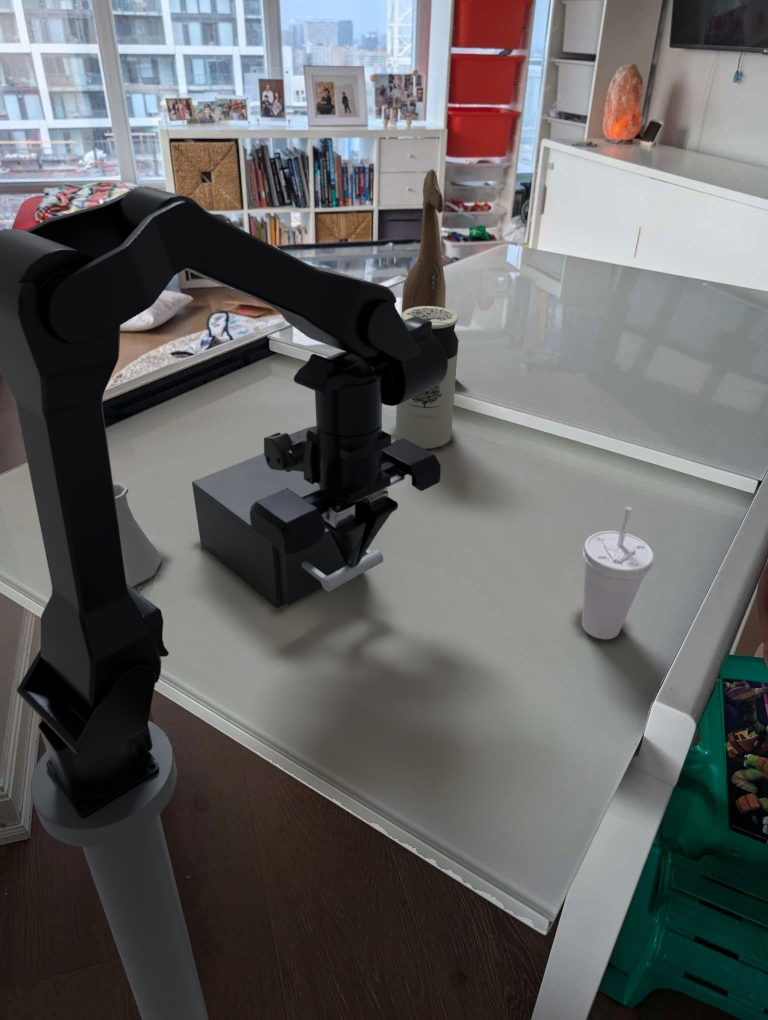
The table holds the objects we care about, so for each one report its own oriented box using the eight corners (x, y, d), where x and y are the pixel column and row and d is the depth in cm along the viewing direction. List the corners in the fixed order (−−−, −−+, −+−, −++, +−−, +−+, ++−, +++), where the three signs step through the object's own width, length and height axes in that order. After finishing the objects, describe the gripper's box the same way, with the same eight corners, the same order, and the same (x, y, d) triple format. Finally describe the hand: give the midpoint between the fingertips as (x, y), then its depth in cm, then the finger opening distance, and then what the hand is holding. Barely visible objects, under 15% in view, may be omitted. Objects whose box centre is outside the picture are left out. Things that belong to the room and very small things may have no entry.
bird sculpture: (404, 397, 120) (413, 180, 102) (375, 369, 129) (378, 165, 111) (466, 386, 124) (485, 175, 106) (433, 360, 133) (445, 161, 115)
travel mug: (405, 420, 113) (410, 302, 103) (457, 429, 111) (466, 309, 101) (388, 444, 107) (391, 320, 97) (442, 454, 105) (451, 329, 95)
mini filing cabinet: (361, 563, 84) (362, 498, 79) (276, 609, 78) (271, 541, 73) (283, 508, 93) (279, 447, 88) (200, 545, 86) (191, 481, 82)
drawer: (394, 584, 80) (396, 532, 76) (317, 629, 74) (315, 575, 70) (290, 512, 91) (287, 463, 87) (215, 546, 85) (208, 495, 81)
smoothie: (635, 614, 78) (666, 500, 70) (631, 655, 73) (664, 538, 65) (572, 599, 80) (596, 487, 72) (564, 639, 75) (588, 523, 67)
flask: (77, 579, 81) (56, 500, 75) (121, 542, 87) (104, 466, 81) (133, 596, 79) (116, 517, 73) (174, 557, 84) (161, 481, 79)
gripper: (368, 366, 76) (368, 497, 85) (206, 422, 66) (225, 565, 74) (448, 403, 69) (440, 541, 78) (282, 471, 59) (294, 623, 67)
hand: (351, 564), depth 75 cm, fingers closed, pressing on drawer
